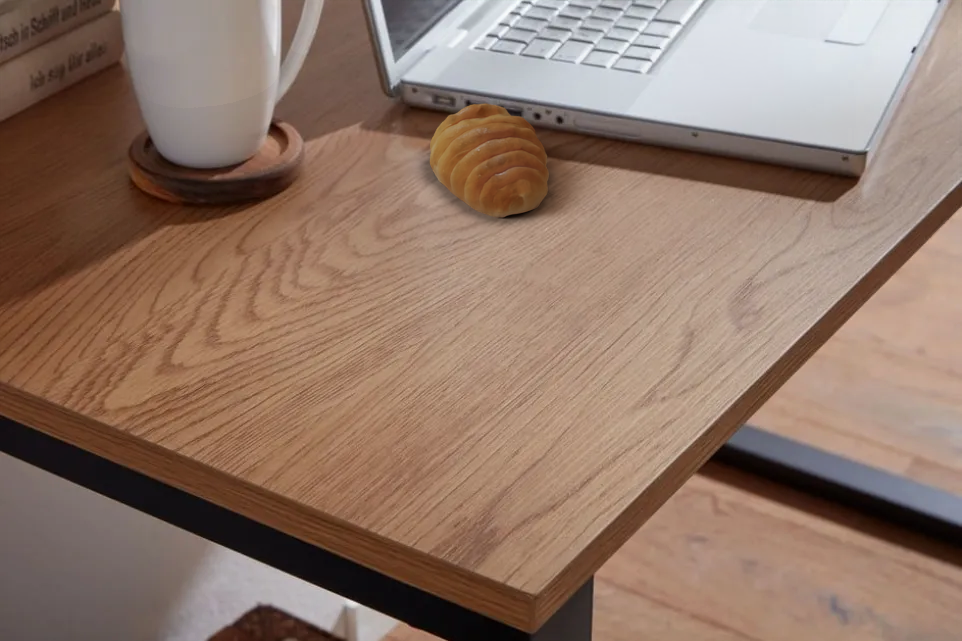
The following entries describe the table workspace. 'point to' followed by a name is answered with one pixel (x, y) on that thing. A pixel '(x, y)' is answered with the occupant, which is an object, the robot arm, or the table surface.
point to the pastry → (490, 160)
